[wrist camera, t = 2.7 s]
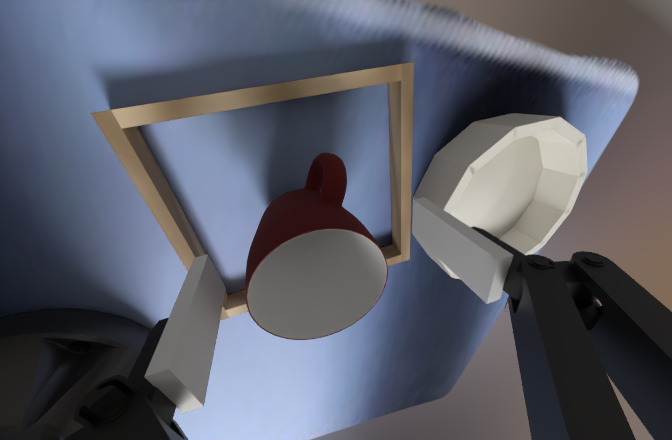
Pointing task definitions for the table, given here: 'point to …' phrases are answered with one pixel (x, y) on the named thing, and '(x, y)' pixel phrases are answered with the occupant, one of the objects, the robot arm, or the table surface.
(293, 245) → the mug
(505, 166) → the bowl
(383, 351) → the table surface
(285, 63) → the table surface
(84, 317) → the robot arm
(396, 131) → the frame tray
